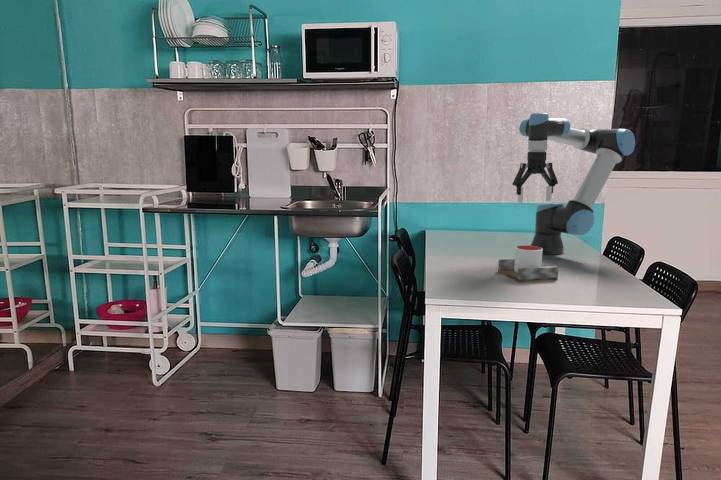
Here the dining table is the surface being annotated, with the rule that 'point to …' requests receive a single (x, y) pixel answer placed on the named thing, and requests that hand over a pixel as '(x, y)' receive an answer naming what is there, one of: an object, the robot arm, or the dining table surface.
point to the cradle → (527, 272)
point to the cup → (527, 257)
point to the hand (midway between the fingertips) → (534, 202)
